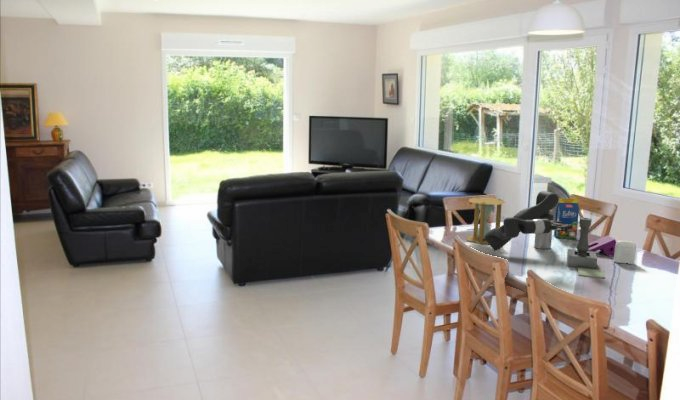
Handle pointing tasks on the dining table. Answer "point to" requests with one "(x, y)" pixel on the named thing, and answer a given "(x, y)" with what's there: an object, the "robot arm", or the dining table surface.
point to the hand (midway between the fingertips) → (566, 225)
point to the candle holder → (583, 236)
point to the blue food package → (567, 217)
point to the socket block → (581, 259)
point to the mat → (591, 273)
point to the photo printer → (625, 252)
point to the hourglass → (484, 217)
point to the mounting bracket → (603, 245)
